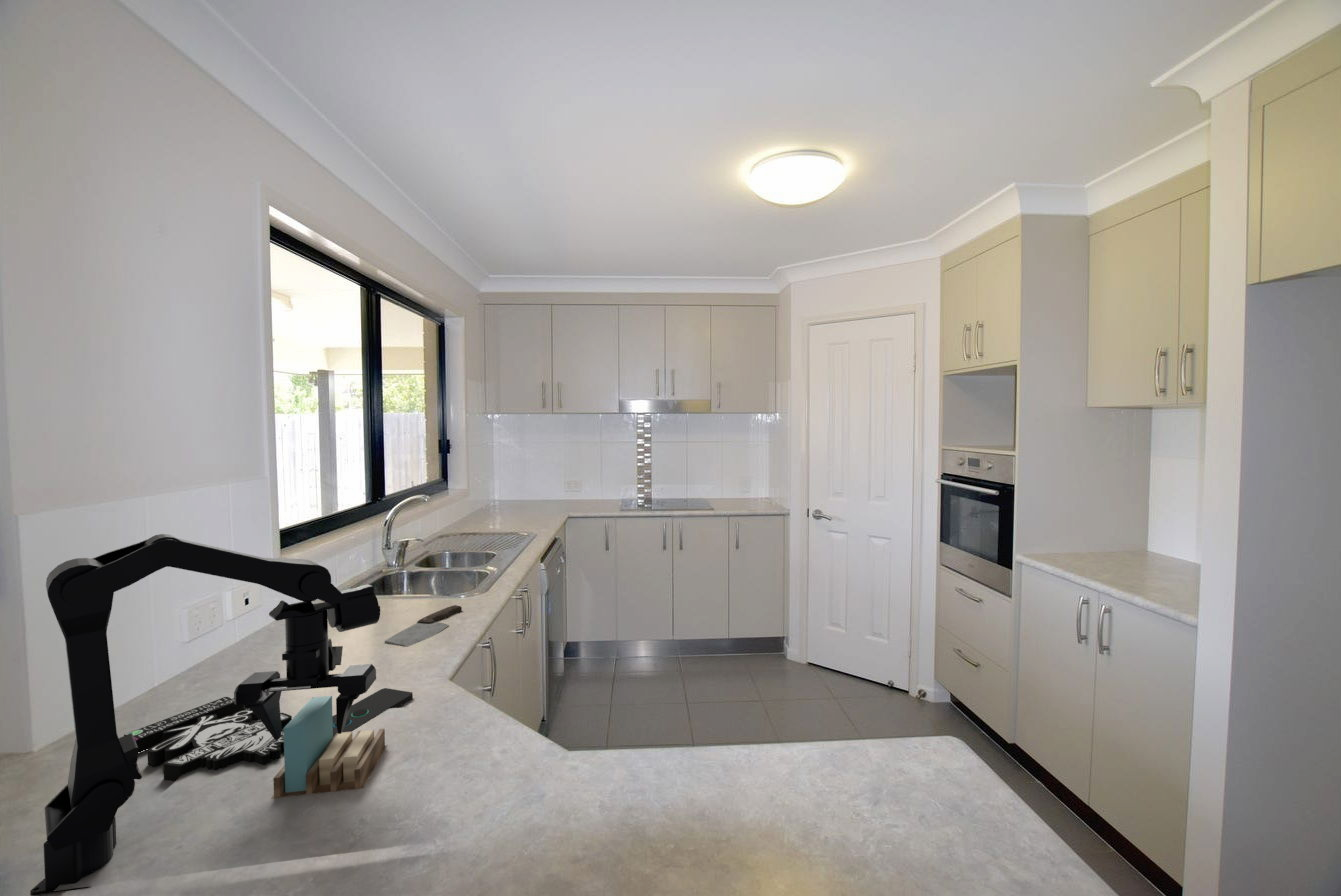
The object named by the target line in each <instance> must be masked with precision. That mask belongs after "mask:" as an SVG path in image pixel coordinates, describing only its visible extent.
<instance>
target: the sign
mask: <svg viewBox="0 0 1341 896" xmlns="http://www.w3.org/2000/svg"><path fill="white" fill-rule="evenodd" d="M244 705H245V704H240V705H236V704H234V697H233V698H231V697H228V696H224V697H221V698H218V699H216V700H215V699H214V700H213V701H210V702H207V703H205V704H202V705H200V706H197V707H195V708H192V709H188V710H186V711H184V712H181V713H178V714H176V715H173V716H169V717H168V718H164V719H163V720H160V721H156V722H154V723H151V724H149V725H145V726H143V727H141V728H138V729H135V730H132V731H129V732H126V733H124V734H123V736H125V735H127V734H130V733H132V734H133V736H134V739H135V741H136V744H137V747H138V752H141V751H143V750H146V749H148V750H147V751H146V752H147V766H148V765H149V766H148V767H150V766H152V767H151V768H156V767H157V768H158V767H159V766H162V765H163V766H162V768H163V769H162V770H163V780H164V781H171V782H176V781H178V780H179V779H180V778H182V776H184V775H185V774H188V773H191V772H193V771H195V770H197V769H199V768H202V769H204V768H206V769H207V770H209V771H210V770H213V771H219V770H220V769H225V768H228V767H229V766H233V765H235V764H238V763H241V762H246V763H250V764H251V763H256V764H258V765H261V766H266V765H269V764H270V762H271V761H278V760H279V759H281V757H282V753H284V727H285V726H286V725H287V724H288V723H289V722H290V721H291V720H292V719H293V718H292V717H293V716H292V715H291V714H287V713H286V712H285V713H284V712H280V716H281V737H280V738H279V739H278V740H275V739H274V738H273V736H272V735H271V734H270V732H269V731H268V729H267V728H266V727H265V725H264V724H263V723H262V721H261V720H260V719H259V718H258V717H257V716H256V715H255V714H254V713H253V712H252V711H251V710H250V709H244ZM161 764H162V765H161Z"/></svg>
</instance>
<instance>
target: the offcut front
mask: <svg viewBox="0 0 1341 896" xmlns="http://www.w3.org/2000/svg"><path fill="white" fill-rule="evenodd" d="M360 731H361V732H360V733H359V735H358V736H357V738H356V739H355V741H354V742H353V744H352V745H351V746H350V748H349V749H348V751H347V752H346V754H345V755H344V757H343V779H344V782H353V781H355V774H354V769H355V768H356V766H357V765H358V763H359V761H360V760H361V758H362V757H363V755H364V753H365V752H366V750H367V749H368V747H369V745H370V744H371V742H372V740H373V739H374V737H375V729H367V730H366V729H365V730H360Z"/></svg>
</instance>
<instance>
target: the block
mask: <svg viewBox="0 0 1341 896" xmlns="http://www.w3.org/2000/svg"><path fill="white" fill-rule="evenodd" d="M332 716H333V695H327V696H315V697H312V698H311V699H310V700H309V701H308V702H307V703H305V705H304V706H303V707H302V708H301V709H300V710H299V711H298V712H297V713H296V714H295V715H294V716H293V718H292V720H291V721H290V722H289V723H288V724H287V725H286V726H285V727H284V729H283V730H284V752H283V753H284V754H283V755H284V758H283V759H284V761H283V762H284V765H285V793H287V792H296V791H305V790H306V774H307V772H308V771H309V770H310V768H311V767H312V766H313V764H314V763H315V762H316V760H317V759H318V758H319V756H320V755H321V754H322V753H323V751H324V750H325V749H326V747H327V746H328V745H329V743H330V742H331V741H332V739H333V719H332Z"/></svg>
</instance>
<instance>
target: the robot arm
mask: <svg viewBox="0 0 1341 896" xmlns="http://www.w3.org/2000/svg"><path fill="white" fill-rule="evenodd" d="M166 567H168V568H169V567H170V568H175V569H180V570H184V571H185V570H186V571H190V572H195V573H200V574H205V575H211V576H215V577H220V578H225V579H231V580H236V581H240V582H246V583H252V584H255V585H256V584H257V585H260V586H262V587H265V588H268V589H271V590H273V591H275V592H277V593H280V594H283V595H285V596H288V597H290V598H292V599H296V600H298V602H294V603H290V604H289V603H288V602H286V601H285V600H280V601H279V603H278V604H277V605H276V606H275V607H274V608H273V609H272V610H271V611H269V613H268V616H269V617H271V618H272V619H274V620H275V621H276V622H277V621H282V620H284V626H285V629H284V631H285V651H284V652H283V653H282V654H281V661H285V663H286V664H285V665H286V666H285V667H286V668H285V670H286V676H285V677H282V678H281V673H280V672H279V671H278V670H275V671H273V670H272V671H271V670H270V671H259V672H254V673H252V674H251V675H249V676H248V677H247V678H246V679H244V680H242V682H241V683H239V684H238V685H237V686H236V687H235V690H234V692H233V698H234V704H236V705H240V704H245V705H244V709H250V710H251V711H252V712H253V713H254V714H255V715H256V716H257V717H258V718H259V719H260V720H259V721H262V723H263V724H264V725H265V727H266V728H267V729H268V731H269V732H270V734H271V735H272V736H273V738H274V739H275V740H278V739H279V738H280V737H281V716H280V713H281V705H280V701H281V700H280V699H281V696H282V692H287V691H288V692H290V691H299V690H312V689H313V690H314V689H315V690H316V689H323V688H324V689H325V688H335V687H336V688H337V693H339V695H338V696H337V697H336V698H335V703H336V705H335V706H336V710H335V713H336V714H335V715H336V716H337V731H338V734H341V733H342V732H343V730H344V727H345V724H346V721H347V718H348V715H349V712H350V709H351V706H352V705H353V703H354V701H356V700H358V698H359V697H360V696H361V695H363V694H365V693H367V692H368V690H369V689H370V688H371V686H372V685H373V683H374V682H375V681H376V680H377V668H376V667H375V665H374V664H372V663H368V664H367V663H365V664H354V665H352V664H351V665H349V666H348V667H347V668H346V669H345V671H343V673H332V674H331V673H330V672H332V671H334V670H336V669H337V668H336V667H337V666H341V665H342V658H343V657H342V656H343V649H344V648H343V645H341V646H339V645H337V646H336V645H335V646H333V641H332V638H329V627H330V628H332V629H333V628H335V629H336V631H338V632H339V633H343V632H347V631H352V630H355V629H359V628H362V627H367V626H370V625H375V624H377V623H378V622H379V621H380V616H381V606H380V605H379V601H378V597H377V595H376V593H375V586H374V585H371V584H369V583H368V584H362V585H359V586H358V587H354V588H353V587H352V588H348V589H344V590H343V589H342V590H340V589H339V588H337V587H336V586H335V585H334V584H333V583H332V576H331V573H330V571H329V569H328V568H326V567H325V566H323V565H320V564H318V563H316V562H313V561H311V560H308V559H301V558H286V557H282V558H281V557H279V558H277V557H275V558H272V557H261V556H256V555H253V554H248V553H243V552H239V551H234V550H230V549H226V548H223V547H218V546H213V545H210V544H209V545H208V544H203V543H199V542H194V541H190V540H186V539H181V538H178V537H176V536H174V535H171V534H167V533H159V534H156V535H154V536H151V537H149V538H148V539H145V540H142V541H140V542H137V543H134V544H131V545H127V546H125V547H121V548H118V549H115V550H111V551H108V552H105V553H103V554H101V555H98V556H96V557H93V558H88V557H79V558H76V557H75V558H73V559H70V560H69V559H68V560H66V561H64V562H61V563H60V564H59V565H57V566H55V568H53V569H52V570H51V571H50V572H49V573H48V575H47V577H46V581H45V587H46V592H47V593H46V594H47V598H48V601H49V603H50V605H51V609H52V611H53V613H54V616H55V618H56V620H57V623H58V625H59V628H60V631H61V633H62V635H63V637H64V640H65V649H66V650H65V651H66V659H67V660H66V661H67V669H68V677H69V678H68V680H69V688H70V689H69V690H70V697H71V707H72V715H73V724H74V734H75V739H74V745H73V748H72V749H73V750H72V754H71V757H70V759H71V760H70V763H69V772H68V778H67V784H66V785H65V786H64V787H63V788H62V789H61V790H60V791H59V792H58V793H57V794H56V795H55V796H54V797H53V798H52V799H51V800H50V801H49V802H48V803H47V804H46V806H45V807H44V816H45V817H44V822H45V830H46V831H45V832H46V833H45V834H46V841H45V842H44V843H43V861H44V862H43V866H44V878H43V879H42V880H41V881H40V882H39V883H37V884H36V885H35V886H34V887H33V888H32V889H31V890H30V891H29V892H30V893H29V894H30V896H39V895H47V894H55V893H62V892H70V891H78V890H79V891H80V890H84V889H86V890H87V889H89V888H92V887H93V885H89V886H81V887H80V886H79V887H74V888H73V887H72V888H67V889H59V890H57V889H58V888H59V887H60V886H63V885H64V886H66V885H71V884H76V883H78V882H79V881H81V880H82V879H83V878H85V877H87V876H90V875H91V874H93V873H95V872H97V871H98V870H100V869H101V868H104V866H106V865H107V864H108V863H109V862H110V861H111V860H112V859H113V857H114V849H115V848H116V845H117V827H116V825H117V823H116V821H117V820H116V814H117V812H118V810H119V808H121V807H122V806H123V805H124V804H125V803H126V802H127V801H128V800H129V799H130V798H131V797H132V796H133V794H134V792H135V787H136V786H135V785H136V781H135V780H141V779H142V777H143V776H142V773H141V771H140V768H139V764H138V757H139V754H138V747H137V744H136V741H135V739H134V736H133V734H132V733H130V734H127V733H126V734H127V735H125V736H124V735H123V736H121V737H119V735H118V733H117V732H118V731H117V724H116V713H115V712H116V711H115V704H114V703H115V702H114V693H113V684H112V673H111V665H110V655H109V646H108V636H107V635H108V634H107V631H108V626H109V622H110V617H111V613H112V608H113V602H114V595H115V593H116V592H118V591H120V590H122V589H125V588H127V587H128V586H129V587H130V586H131V585H133V584H135V583H137V582H139V581H140V580H142V579H145V578H146V577H148V576H150V575H152V574H153V573H155V572H158V571H160V570H162V569H164V568H166ZM317 600H319V601H322V602H319V603H318V602H317V603H313V602H315V601H317ZM299 601H300V602H299ZM328 624H329V626H328Z"/></svg>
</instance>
